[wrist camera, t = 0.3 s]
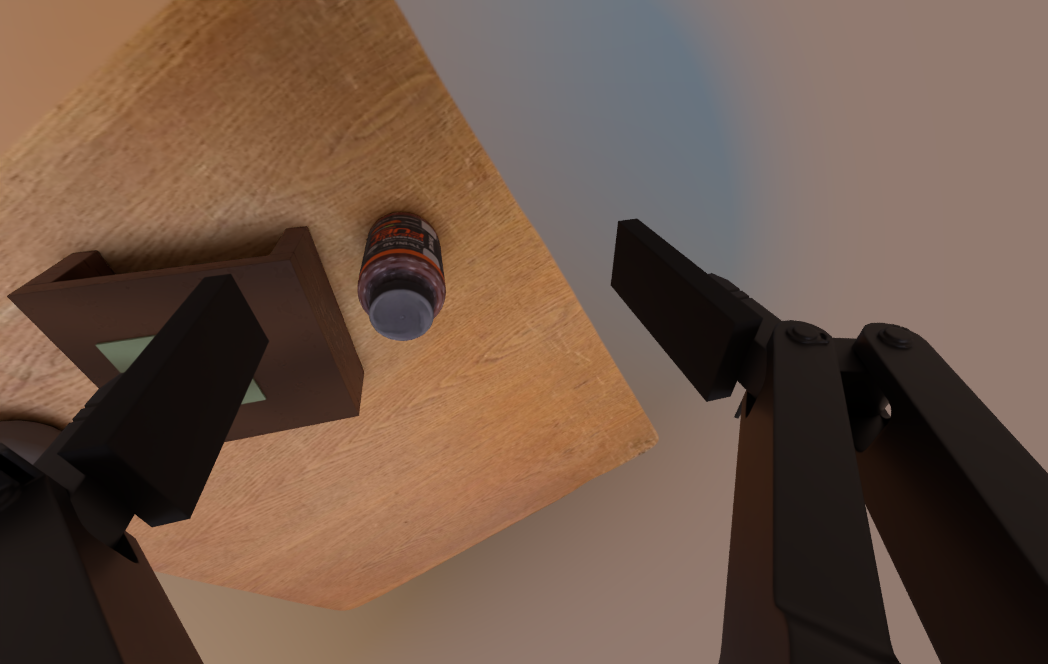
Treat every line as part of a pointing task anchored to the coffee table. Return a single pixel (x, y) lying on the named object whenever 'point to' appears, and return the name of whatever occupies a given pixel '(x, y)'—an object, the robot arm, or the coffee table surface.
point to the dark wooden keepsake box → (154, 296)
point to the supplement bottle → (402, 276)
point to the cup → (27, 438)
